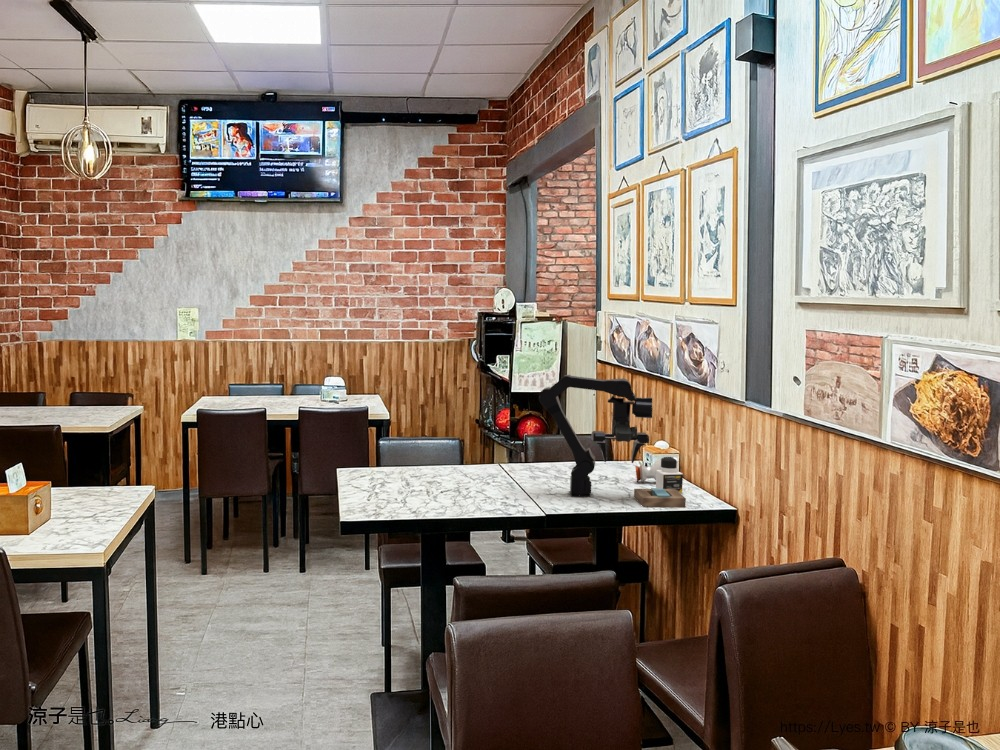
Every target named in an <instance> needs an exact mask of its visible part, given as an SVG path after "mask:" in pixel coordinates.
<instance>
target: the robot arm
mask: <svg viewBox="0 0 1000 750" xmlns="http://www.w3.org/2000/svg"><path fill="white" fill-rule="evenodd" d="M568 388H574V389H582V390H589V391H599V392H603V393H607V394H609V395H611V397H610V398H609V399H608V400H607V403H609V404H612V417H611V418H612V422H611V433H605V431H602V430H593V431H591V437H590V438H591V440H592V441H593V442H595V443H596V444H597V445H598V446H599V448H600V451H601V454H602V458H603V462H604V463H607V449H606V448H607V447H606V445H607V443H606V442H605V441H606V440H613V441H614V440H615V441H616V442H626V443H629V442H630V443H631V441H632V449H631V464H634V462H635V459H636V457H637V455H638V453H639V450H640V449H641V447H643V446H645V445H646V444H649V443H650V436H649V435H648V434H647V433H646V432H638V427H637V426H631V425H630V418H631V415H634V417H635V418H641V419H644V418H645V419H653V410H654V409H653V408H654V407H653V397H637V396H636V394H635V393H634V392H633V390H632V384H631V382H630V381H629V380H628V379H626V378H609V379H601V378H600V379H599V378H592V377H591V378H590V377H586V376H585V377H583V376H575V375H571V374H565V375H564V376H563V377H562V378H561V379H560V380H558V381H557V382H555V383H554V384H553V385H552V386H549V387H547V386H546V387H545V388H543V389H541V391H540V392H539V394H538V401H539V403H540V404H541V406H542V407H543V408H544V409H545V410H546V411H547V413H549V414H550V415H551V416H552V418H553V420H554V421H555V423H556V426H557V428H558V429H559V430H560V433H561V434H562V435H563V437H564V440H565V442H566V443H567V445H568V446H569V448H570V450H571V452H572V456H573V459H574V462H575V466H573V467H572V469H571V472H570V480H569V481H570V482H569V483H570V484H569V490H568V494H569V495H570V496H571V497H591V494H592V480H591V477H590V474H592V473H593V471H594V470H595V466H596V456H595V455H594V454H593V452H592V450H591V448H590V447H588V448H586V447H585V446H583V444H582V443H581V441H580V439H579V437H578V436H577V433H576V432H575V430H574V428H573V427H572V425H571V423H570V421H569V420H568V417H567V416H566V414H565V412H564V410H563V409H562V408H563V407H562V405H561V402H560V398H559V396H560V395H561V394H562V393H563V392H565V391H566V390H567V389H568ZM624 399H627V400H624ZM631 405H632V406H631ZM631 407H632V408H631ZM631 409H632V410H631Z"/></svg>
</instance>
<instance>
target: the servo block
mask: <svg viewBox="0 0 1000 750" xmlns="http://www.w3.org/2000/svg"><path fill="white" fill-rule="evenodd" d="M650 489H651V490H652V492H653V493H652V496H657V497H670V495H669V494H668V493H667V492H666V491H665V490H664V489H663V488H656V487H652V488H650Z"/></svg>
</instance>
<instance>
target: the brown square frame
mask: <svg viewBox="0 0 1000 750" xmlns="http://www.w3.org/2000/svg"><path fill="white" fill-rule="evenodd" d="M633 490H634V491H633V498H634V497H635V498H636V499H637V500H638V501H637V500H636V499H635V498H634V499H635V500H636V501H637V503H640V504H641V505H642V506H648V507H647V508H686V502H687V501H686V499H687V498H686V497H685V496H684V495H683V494H682V493H681V494H680V493H679V492H678V491H677V490H676V489H664V490H665V491H666V492H667V493H668V494H669V495H670V497H657V496H652V493H653V492H652V490H651V488H634V489H633ZM640 504H639V505H640ZM641 505H640V506H641ZM642 506H641V507H642Z"/></svg>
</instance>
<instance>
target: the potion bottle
mask: <svg viewBox="0 0 1000 750" xmlns="http://www.w3.org/2000/svg"><path fill="white" fill-rule="evenodd" d="M662 458H663V457H661V458H659V459H657V460H655V461H654V463H653V464H652V465H650V466H645V465H644V464H642V463H641V464H640V465H639V466H637V465H635V476H636V477H635V478H636V483H638V482H639V481H641V482H642V483H644V482H645V481H646V480H649V479H654V480H655V481H656V470H662V469H661V459H662ZM677 471H679V469H678V470H677Z"/></svg>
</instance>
